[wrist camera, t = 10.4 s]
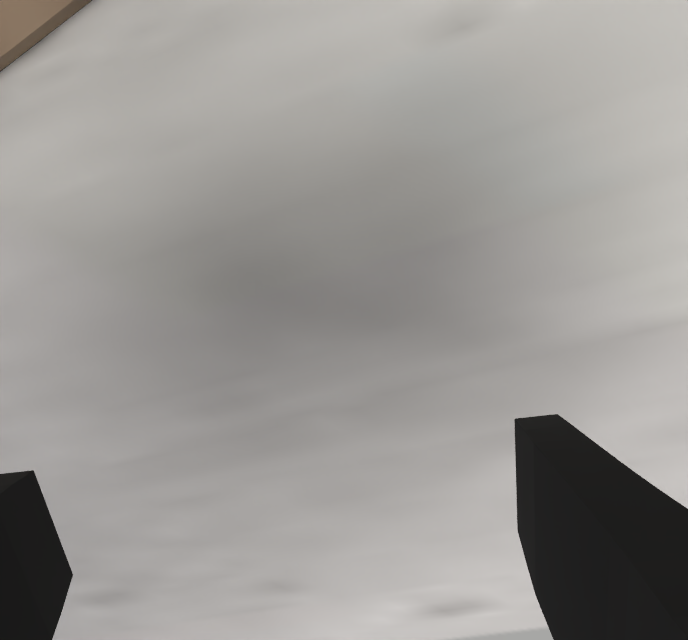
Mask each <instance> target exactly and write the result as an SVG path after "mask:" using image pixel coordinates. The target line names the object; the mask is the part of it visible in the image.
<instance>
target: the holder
mask: <svg viewBox="0 0 688 640" xmlns="http://www.w3.org/2000/svg"><path fill="white" fill-rule="evenodd" d="M90 1H92V0H0V71H1V70H3V69H4V68H5V67H6V66H8V65H9V64H10V63H12V62H13V61H14V60H16V59H17V58H18V57H19V56H21V55H22V54H23V53H25V52H26V51H27V50H28V49H30V48H31V47H32V46H34V45H35V44H36V43H37V42H39V41H40V40H41V39H43V38H44V37H45V36H46V35H48V34H49V33H50V32H52V31H53V30H54V29H56V28H57V27H58V26H59V25H61V24H62V23H63V22H65V21H66V20H67V19H68V18H70V17H71V16H72V15H74V14H75V13H76V12H77V11H79V10H80V9H81V8H83V7H84V6H85V5H86V4H88V3H89V2H90Z"/></svg>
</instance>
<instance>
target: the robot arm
mask: <svg viewBox="0 0 688 640" xmlns="http://www.w3.org/2000/svg"><path fill="white" fill-rule="evenodd" d="M515 449H516V486H517V523H518V533H519V537H520V541H521V544H522V548H523V552H524V555H525V559H526V563H527V566H528V570H529V573H530V577H531V580H532V584H533V587H534V591H535V594H536V597H537V599H538V602H539V604H540V607H541V609H542V612H543V614H544V617H545V619H546V622H547V624H548V627H549V629H550V632H551V634H552V637H553V639H554V640H688V509H687V508H686V507H684V506H683V505H681V504H680V503H678V502H677V501H675V500H674V499H672V498H671V497H669V496H668V495H666V494H665V493H663V492H662V491H660V490H659V489H658V488H656V487H655V486H653V485H652V484H650V483H649V482H648V481H646V480H645V479H643V478H642V477H641V476H639V475H638V474H636V473H635V472H634V471H632V470H631V469H630V468H628V467H627V466H625V465H624V464H623V463H621V462H620V461H619V460H617V459H616V458H615V457H613V456H612V455H611V454H609V453H608V452H607V451H605V450H604V449H603V448H601V447H600V446H599V445H597V444H596V443H595V442H593V441H592V440H591V439H590V438H588V437H587V436H586V435H584V434H583V433H582V432H580V431H579V430H578V429H576V428H575V427H574V426H573V425H571V424H570V423H569V422H567V421H566V420H564V419H563V418H562V417H560V416H559V415H558V414H555V415H546V416H537V417H527V418H518V419H515ZM72 576H73V574H72V571H71V568H70V566H69V563H68V561H67V558H66V555H65V553H64V550H63V547H62V545H61V542H60V539H59V537H58V534H57V531H56V529H55V526H54V523H53V521H52V518H51V516H50V513H49V510H48V508H47V505H46V502H45V500H44V497H43V494H42V492H41V489H40V486H39V484H38V481H37V478H36V476H35V473H34V471H24V472H15V473H6V474H0V640H52V638H53V635H54V632H55V629H56V627H57V624H58V621H59V618H60V615H61V612H62V609H63V606H64V602H65V599H66V596H67V592H68V589H69V586H70V582H71V579H72Z"/></svg>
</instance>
